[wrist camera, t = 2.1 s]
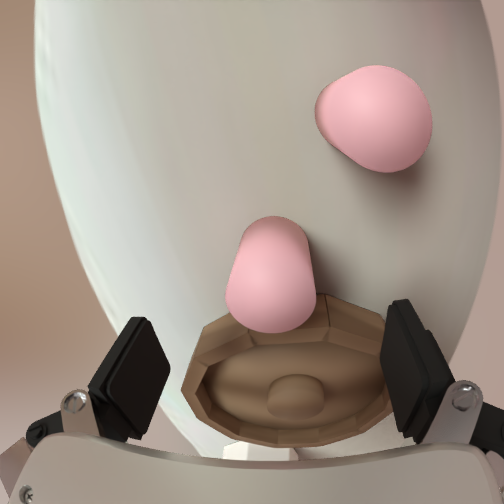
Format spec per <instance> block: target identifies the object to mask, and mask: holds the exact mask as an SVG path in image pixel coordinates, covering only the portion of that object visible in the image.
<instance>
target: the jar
mask: <svg viewBox="0 0 504 504" xmlns="http://www.w3.org/2000/svg"><path fill="white" fill-rule="evenodd" d="M222 459H231V460H250V461H294V460H298V454H297V453H296V451H295V450H294V449H293V448H271V447H266V446H261V445H256V444H252V443H247V442H243V441H238V442H235V443H232V444H229V445H226V446H225V447H224V451H223V457H222Z"/></svg>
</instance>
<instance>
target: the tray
mask: <svg viewBox="0 0 504 504" xmlns="http://www.w3.org/2000/svg"><path fill="white" fill-rule="evenodd" d="M384 330H385V322H384V320H383V319H382V317H381V315H380V314H377V313H375V312H372V311H369V310H366V309H364V308H361V307H358V306H356V305H353V304H350V303H348V302H345V301H342V300H340V299H337V298H334V297H332V296H329V295H326V294H325V295H324V294H318V295H316V304H315V308H314V310H313V312H312V314H311V316H310V317H309V318H308V319H307V320H306V321H305V322H304V323H303V324H301V325H300V326H298V327H297V328H294V329H292V330H289V331H286V332H282V333H263V332H258V331H254V330H252V329H249V328H247V327H245V326H244V325H242V324H241V323H239V322H238V321H237V320H236V319H235V318H234V317H233V316H232V314H231V313H228V314H226V315H225V316H223V317H221V318H219V319H217V320H216V321H214V322H212V323H210V324H208V325H207V326H205V327H204V328H203V330H202V333H201V335H200V338H199V340H198V343H197V345H196V348H195V350H194V353H193V355H192V358H191V361H190V363H189V366H188V369H187V372H186V375H185V378H184V381H183V384H182V388H181V392H182V394H183V395H184V397H185V399H186V401H187V402H188V404H189V406H190V407H191V409H192V411H193V412H194V414H195V416H196V417H197V419H199V420H200V421H202V422H204V423H205V424H207V425H209V426H210V427H212V428H214V429H215V430H217V431H219V432H221V433H222V434H224V435H226V436H228V437H230V438H231V439H235V440H239V441H243V442H247V443H252V444H256V445H261V446H266V447H271V448H302V447H317V446H324V445H327V444H331V443H334V442H337V441H341V440H344V439H347V438H350V437H353V436H356V435H359V434H362V433H364V432H366V431H367V430H369V429H370V428H371V427H373V426H374V425H376V424H377V423H378V422H380V421H381V420H382V419H384V418H385V417H386V416H388V415H389V414H390V413H392V412H393V408H392V404H391V400H390V397H389V393H388V389H387V385H386V382H385V378H384V375H383V371H382V368H381V364H380V351H381V346H382V341H383V336H384Z"/></svg>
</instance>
